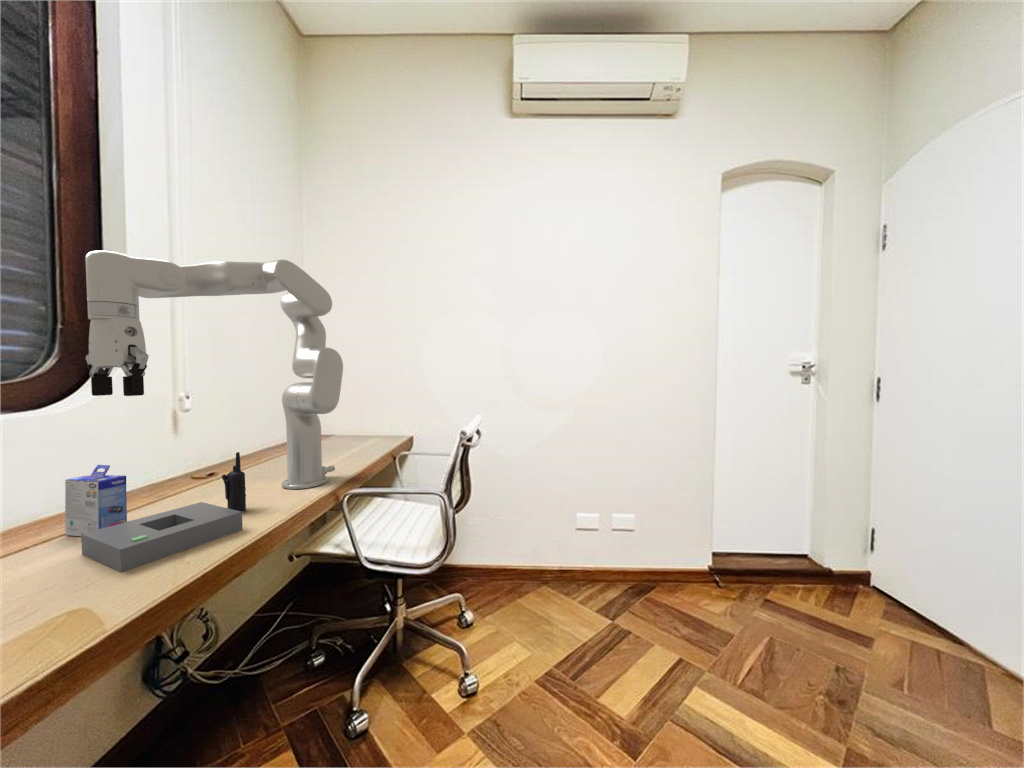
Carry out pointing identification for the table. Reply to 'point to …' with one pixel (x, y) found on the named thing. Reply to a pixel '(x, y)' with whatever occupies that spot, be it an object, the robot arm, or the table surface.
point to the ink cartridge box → (94, 502)
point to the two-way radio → (235, 487)
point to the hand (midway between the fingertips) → (118, 395)
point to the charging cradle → (159, 535)
